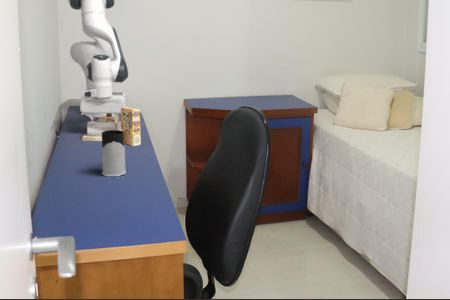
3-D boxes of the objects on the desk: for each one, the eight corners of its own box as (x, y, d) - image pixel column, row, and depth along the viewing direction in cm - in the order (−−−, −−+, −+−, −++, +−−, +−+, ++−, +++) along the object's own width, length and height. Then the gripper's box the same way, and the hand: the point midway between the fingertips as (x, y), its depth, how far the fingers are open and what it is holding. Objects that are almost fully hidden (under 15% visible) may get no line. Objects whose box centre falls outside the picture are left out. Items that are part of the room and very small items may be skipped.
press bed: (94, 128, 257) (93, 113, 255) (127, 129, 257) (127, 113, 255) (82, 140, 234) (81, 124, 232) (118, 141, 234) (118, 124, 232)
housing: (99, 131, 244) (99, 118, 242) (110, 132, 244) (110, 119, 242) (97, 134, 240) (97, 121, 238) (109, 134, 240) (108, 121, 238)
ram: (101, 126, 255) (100, 101, 252) (118, 126, 255) (117, 101, 252) (99, 128, 249) (98, 103, 246) (116, 129, 249) (115, 103, 246)
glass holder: (102, 178, 184) (100, 136, 180) (100, 166, 197) (98, 127, 193) (128, 176, 186) (126, 134, 182) (124, 165, 199) (122, 125, 196)
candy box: (141, 145, 229) (140, 109, 225) (133, 146, 226) (132, 110, 222) (129, 141, 235) (128, 106, 231) (121, 142, 232) (120, 107, 228)
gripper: (127, 91, 240) (128, 121, 244) (81, 90, 240) (83, 120, 244) (125, 93, 234) (126, 124, 238) (78, 93, 234) (79, 123, 238)
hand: (104, 122), depth 241 cm, fingers open, 8 cm apart
